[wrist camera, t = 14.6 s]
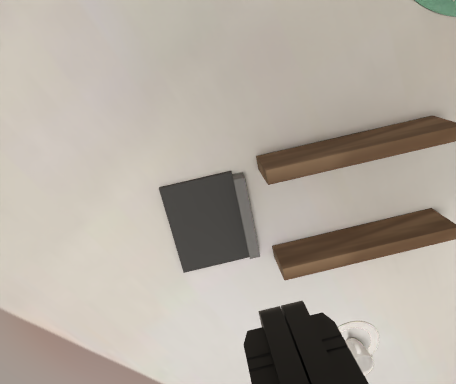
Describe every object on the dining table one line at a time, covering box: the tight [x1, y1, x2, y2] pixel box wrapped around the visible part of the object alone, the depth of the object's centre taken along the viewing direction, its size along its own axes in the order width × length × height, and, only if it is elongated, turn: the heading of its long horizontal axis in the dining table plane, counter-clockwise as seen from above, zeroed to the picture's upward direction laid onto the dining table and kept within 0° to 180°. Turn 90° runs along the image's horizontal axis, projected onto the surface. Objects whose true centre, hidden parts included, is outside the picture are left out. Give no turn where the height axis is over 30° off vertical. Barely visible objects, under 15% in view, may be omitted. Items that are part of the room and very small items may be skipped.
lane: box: [256, 116, 456, 280], centre depth 41 cm, size 13×20×5 cm, turn 102°
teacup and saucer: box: [338, 321, 379, 376], centre depth 51 cm, size 9×8×4 cm
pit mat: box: [159, 171, 260, 273], centre depth 42 cm, size 11×9×2 cm
